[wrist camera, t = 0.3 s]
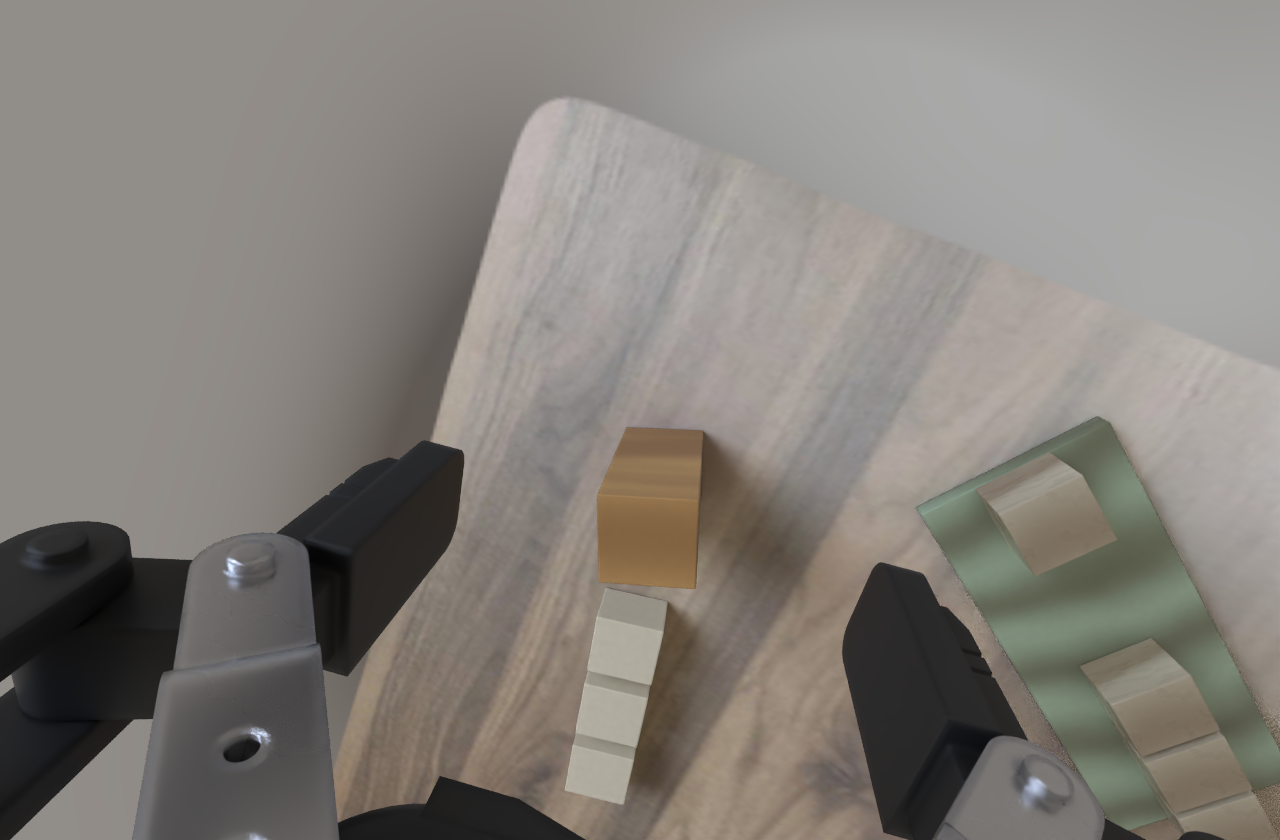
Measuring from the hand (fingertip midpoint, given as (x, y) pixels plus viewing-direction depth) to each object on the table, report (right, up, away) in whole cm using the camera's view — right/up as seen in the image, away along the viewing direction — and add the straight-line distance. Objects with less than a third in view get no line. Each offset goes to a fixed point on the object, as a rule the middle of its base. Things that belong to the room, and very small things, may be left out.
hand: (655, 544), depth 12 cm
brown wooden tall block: (+1, 0, +23) cm, 23 cm away
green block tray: (+27, -10, +23) cm, 37 cm away
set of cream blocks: (-2, -15, +29) cm, 32 cm away
